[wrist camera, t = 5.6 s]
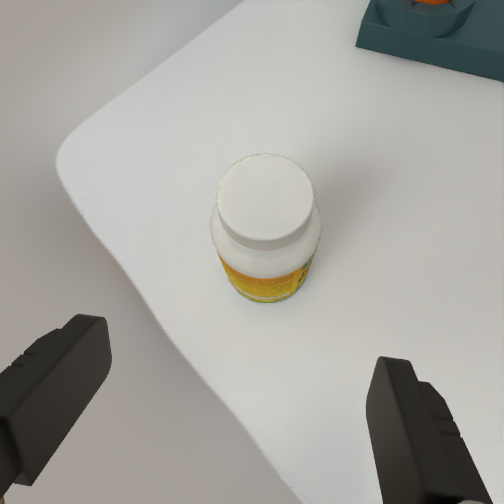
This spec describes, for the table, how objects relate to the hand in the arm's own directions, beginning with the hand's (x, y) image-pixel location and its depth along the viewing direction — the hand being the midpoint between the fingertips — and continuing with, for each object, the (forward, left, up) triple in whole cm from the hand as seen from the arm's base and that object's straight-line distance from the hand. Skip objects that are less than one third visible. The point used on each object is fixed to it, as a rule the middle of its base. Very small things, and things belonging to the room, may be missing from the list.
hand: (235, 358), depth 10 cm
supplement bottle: (-2, +6, -11) cm, 13 cm away
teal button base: (+5, +33, -11) cm, 36 cm away
